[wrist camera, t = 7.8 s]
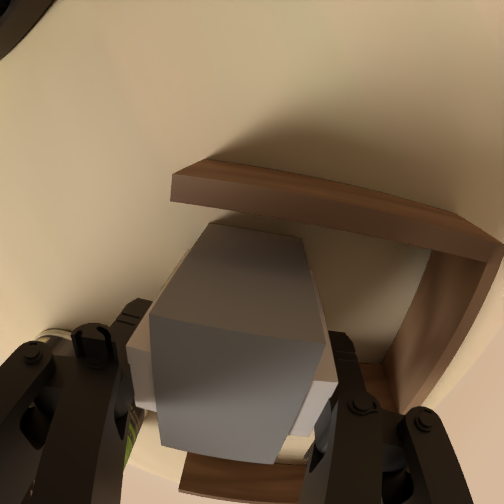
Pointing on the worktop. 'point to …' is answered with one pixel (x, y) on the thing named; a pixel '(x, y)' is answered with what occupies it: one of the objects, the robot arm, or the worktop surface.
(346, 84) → the worktop surface
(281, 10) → the worktop surface
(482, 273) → the comb rack
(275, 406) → the grey block
